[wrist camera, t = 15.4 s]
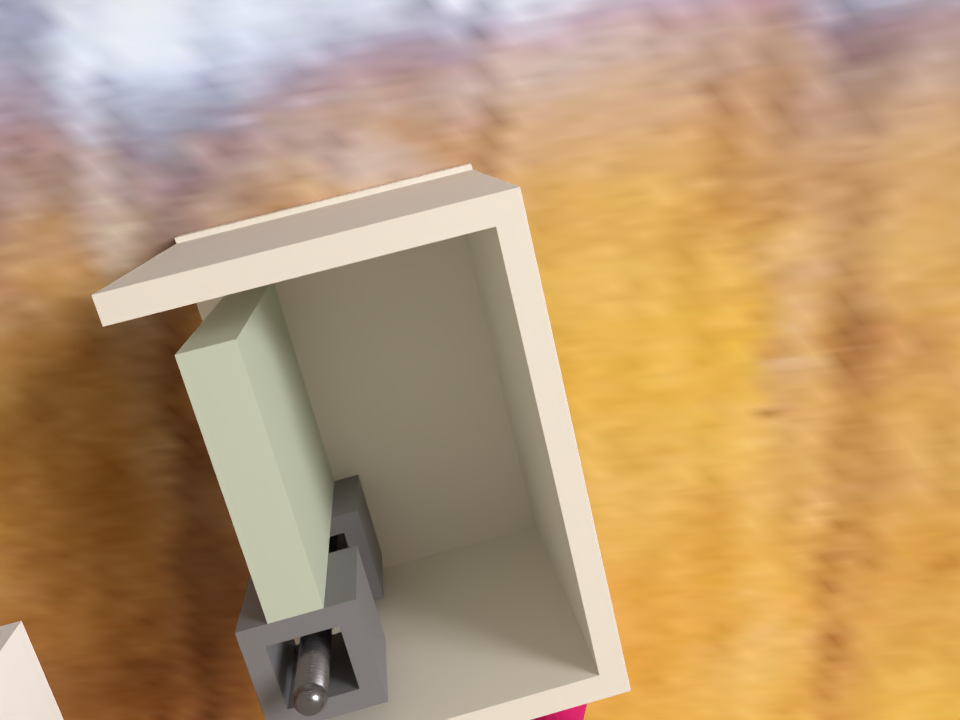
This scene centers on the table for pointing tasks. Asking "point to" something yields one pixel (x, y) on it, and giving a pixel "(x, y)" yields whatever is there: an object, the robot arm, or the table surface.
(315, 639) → the hinge pin
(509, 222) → the carcass
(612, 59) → the table surface
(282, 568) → the door
